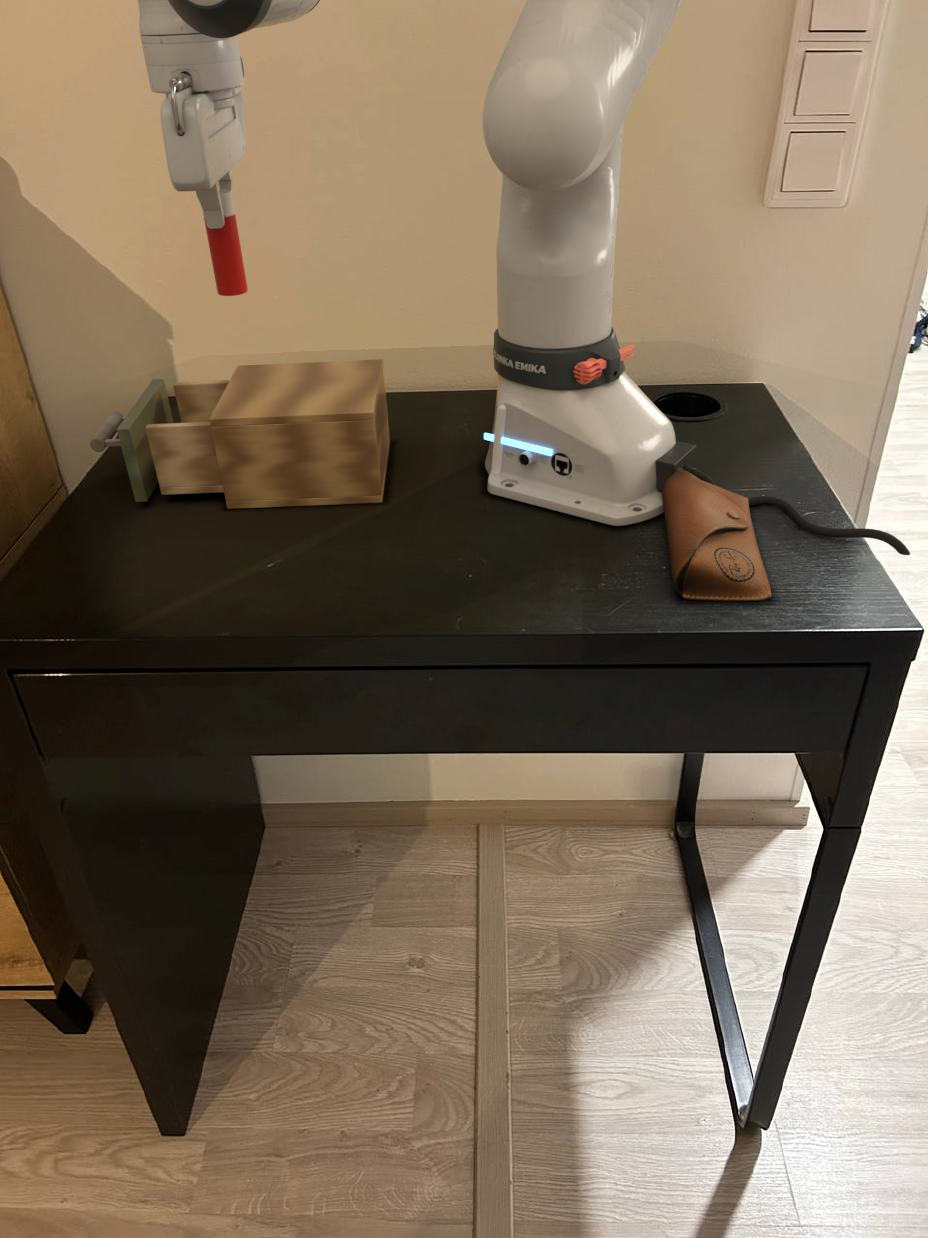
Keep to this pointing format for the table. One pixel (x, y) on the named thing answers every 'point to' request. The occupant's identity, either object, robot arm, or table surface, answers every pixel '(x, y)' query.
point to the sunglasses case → (712, 542)
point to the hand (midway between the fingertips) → (221, 221)
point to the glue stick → (227, 251)
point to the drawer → (167, 440)
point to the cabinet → (303, 434)
